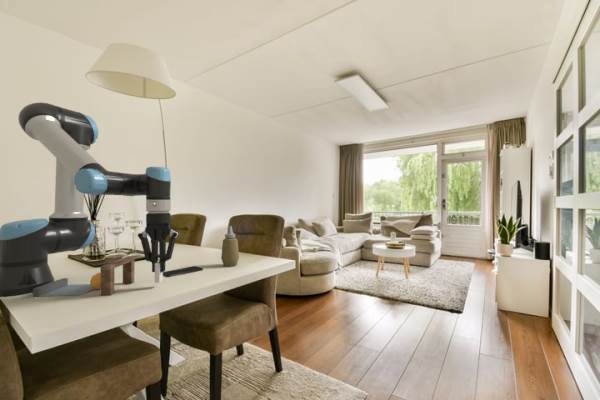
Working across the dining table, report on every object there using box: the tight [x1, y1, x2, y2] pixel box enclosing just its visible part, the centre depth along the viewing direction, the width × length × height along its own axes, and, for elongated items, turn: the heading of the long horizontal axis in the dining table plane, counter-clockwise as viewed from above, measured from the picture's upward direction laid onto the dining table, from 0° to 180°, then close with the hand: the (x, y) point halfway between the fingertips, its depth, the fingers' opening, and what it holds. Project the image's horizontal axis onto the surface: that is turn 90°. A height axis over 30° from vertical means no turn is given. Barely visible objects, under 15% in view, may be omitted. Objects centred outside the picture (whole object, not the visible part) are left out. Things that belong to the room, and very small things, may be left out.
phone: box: [163, 265, 204, 278], centre depth 116 cm, size 8×1×15 cm
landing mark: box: [39, 283, 95, 298], centre depth 92 cm, size 12×12×1 cm
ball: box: [89, 272, 101, 291], centre depth 93 cm, size 6×6×6 cm
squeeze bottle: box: [220, 225, 240, 267], centre depth 127 cm, size 8×8×18 cm
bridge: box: [100, 256, 135, 297], centre depth 94 cm, size 3×14×9 cm, turn 5°
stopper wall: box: [32, 277, 69, 298], centre depth 92 cm, size 2×12×2 cm, turn 5°
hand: (158, 281), depth 95 cm, fingers closed
